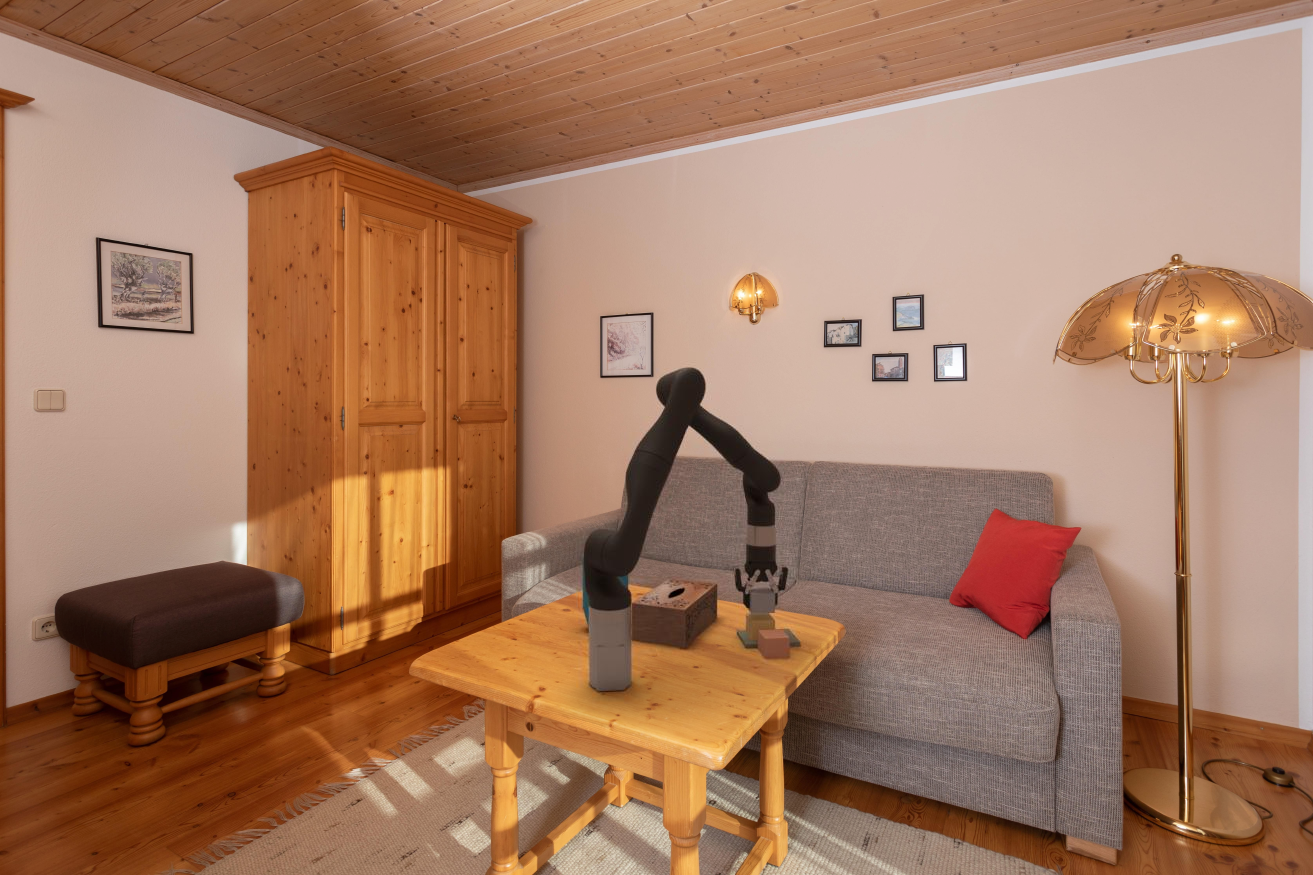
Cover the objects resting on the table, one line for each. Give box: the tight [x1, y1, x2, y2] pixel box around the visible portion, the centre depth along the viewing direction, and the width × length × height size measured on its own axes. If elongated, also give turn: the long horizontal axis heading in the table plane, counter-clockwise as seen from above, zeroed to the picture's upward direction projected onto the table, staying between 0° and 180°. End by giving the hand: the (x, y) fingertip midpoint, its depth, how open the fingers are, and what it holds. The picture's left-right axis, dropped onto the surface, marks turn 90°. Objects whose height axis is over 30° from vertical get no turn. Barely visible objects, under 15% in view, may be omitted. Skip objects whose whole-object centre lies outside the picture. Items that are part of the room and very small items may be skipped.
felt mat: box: [736, 628, 802, 649], centre depth 174 cm, size 10×14×1 cm
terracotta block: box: [757, 628, 790, 660], centre depth 165 cm, size 6×6×5 cm
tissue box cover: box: [631, 578, 718, 650], centre depth 183 cm, size 26×14×10 cm, turn 157°
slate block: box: [747, 586, 776, 614], centre depth 174 cm, size 6×6×5 cm
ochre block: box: [745, 613, 776, 641], centre depth 174 cm, size 6×6×5 cm
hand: (760, 606), depth 174 cm, fingers closed on slate block, 6 cm apart
